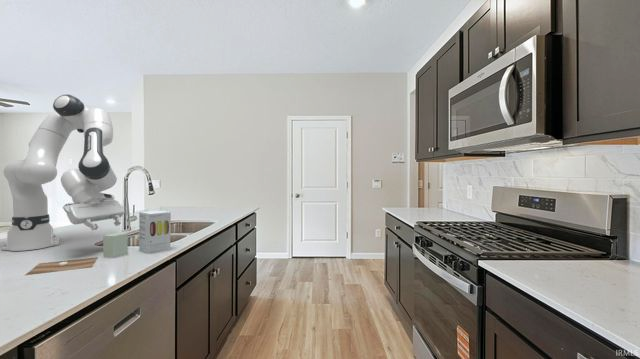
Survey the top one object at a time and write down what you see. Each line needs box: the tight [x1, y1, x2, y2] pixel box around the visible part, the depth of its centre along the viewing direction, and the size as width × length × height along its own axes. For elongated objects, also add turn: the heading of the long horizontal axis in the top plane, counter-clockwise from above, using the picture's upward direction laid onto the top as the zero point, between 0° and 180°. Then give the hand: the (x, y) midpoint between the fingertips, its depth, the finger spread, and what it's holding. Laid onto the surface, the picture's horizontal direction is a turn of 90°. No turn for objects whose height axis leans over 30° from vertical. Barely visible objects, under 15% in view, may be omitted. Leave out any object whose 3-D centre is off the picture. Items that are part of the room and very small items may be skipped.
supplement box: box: [138, 210, 172, 255], centre depth 129 cm, size 10×9×17 cm
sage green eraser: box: [102, 232, 129, 259], centre depth 117 cm, size 5×6×9 cm
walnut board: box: [25, 256, 99, 276], centre depth 104 cm, size 14×17×1 cm
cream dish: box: [59, 262, 67, 267], centre depth 104 cm, size 2×2×1 cm
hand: (107, 226), depth 120 cm, fingers open, 8 cm apart
